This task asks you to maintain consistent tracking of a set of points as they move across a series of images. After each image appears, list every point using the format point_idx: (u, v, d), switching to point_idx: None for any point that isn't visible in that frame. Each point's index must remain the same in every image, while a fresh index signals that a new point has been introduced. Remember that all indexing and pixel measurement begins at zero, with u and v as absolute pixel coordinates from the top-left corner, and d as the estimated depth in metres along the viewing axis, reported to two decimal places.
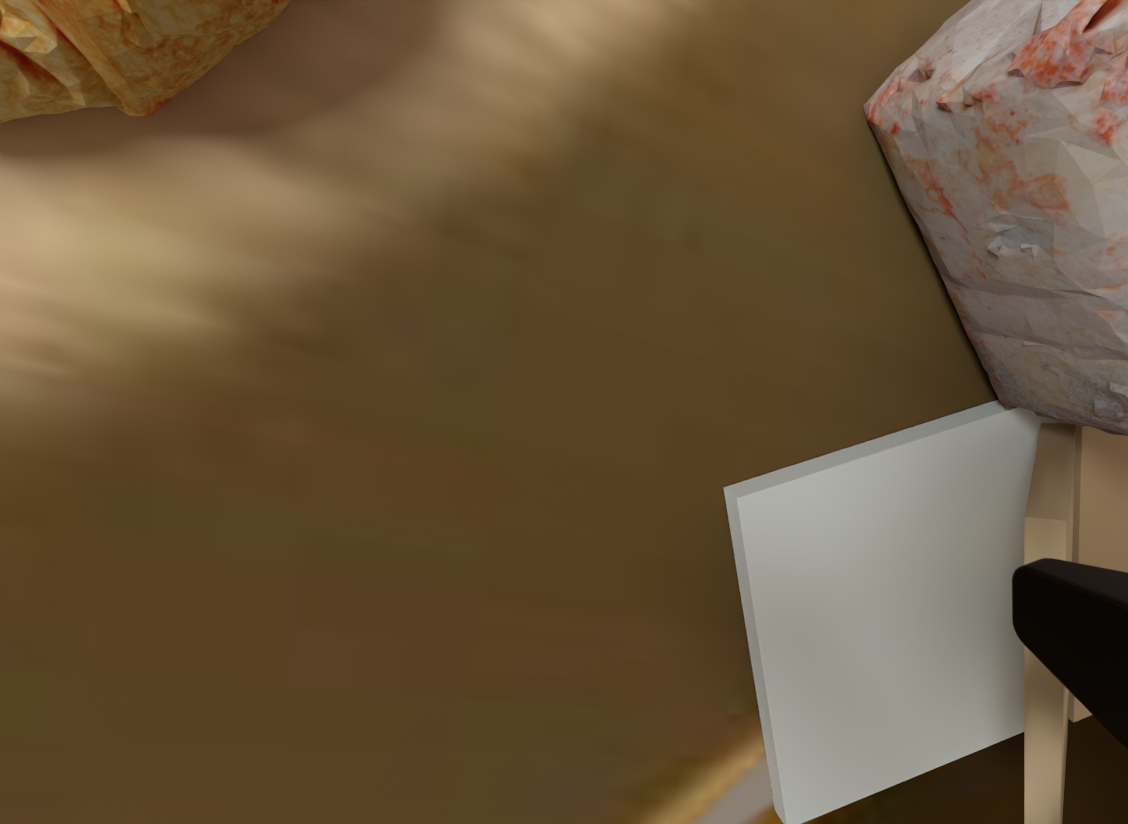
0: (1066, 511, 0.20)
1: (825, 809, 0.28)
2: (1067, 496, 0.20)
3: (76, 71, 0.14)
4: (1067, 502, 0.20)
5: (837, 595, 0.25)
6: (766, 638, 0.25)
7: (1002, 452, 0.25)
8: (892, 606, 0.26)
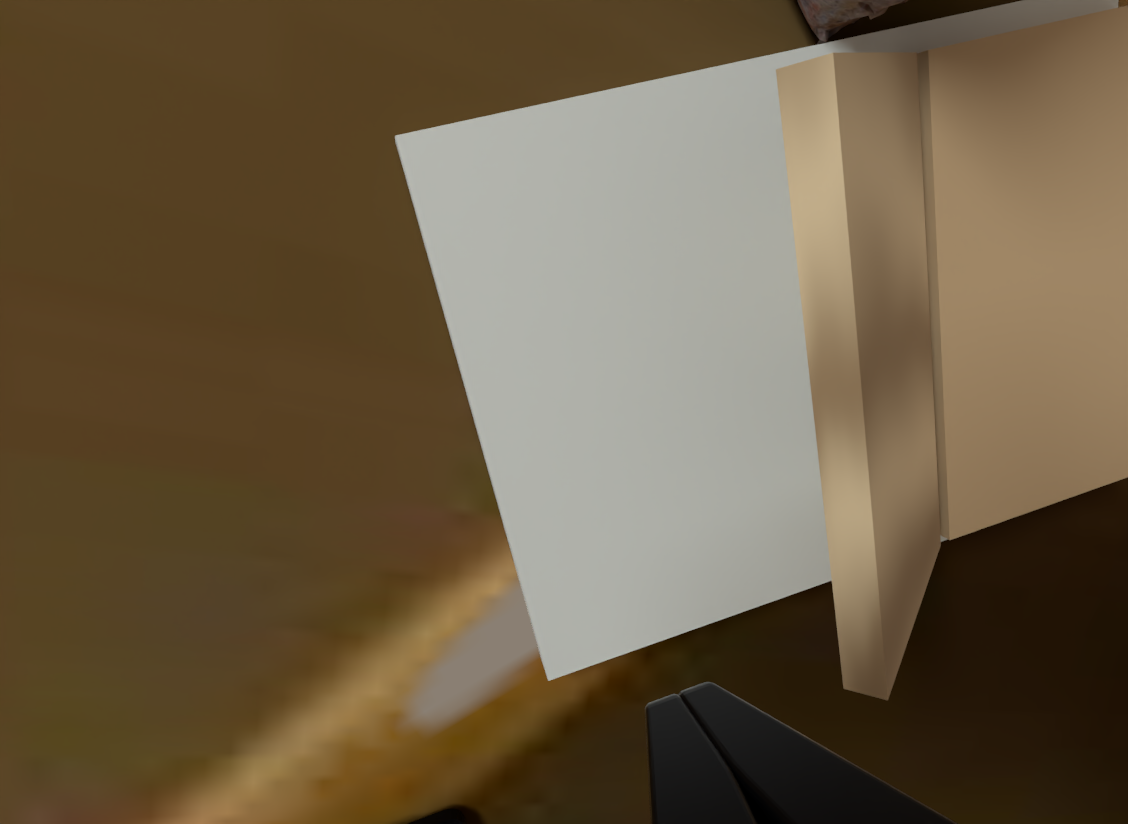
0: None
1: (603, 654, 0.21)
2: (854, 53, 0.13)
3: None
4: (850, 54, 0.12)
5: (582, 320, 0.18)
6: (476, 379, 0.17)
7: None
8: (671, 347, 0.18)
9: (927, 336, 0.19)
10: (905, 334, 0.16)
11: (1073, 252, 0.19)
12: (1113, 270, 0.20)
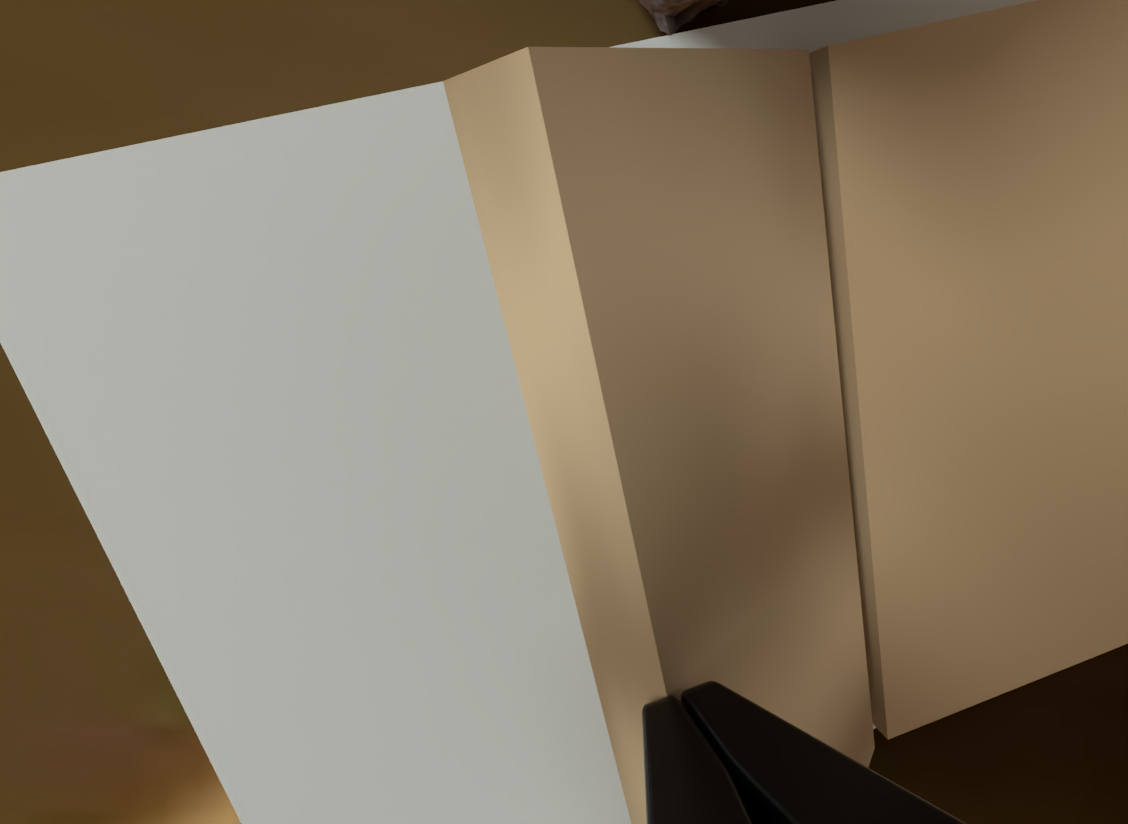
0: (565, 47, 0.06)
1: None
2: (620, 48, 0.06)
3: None
4: (603, 50, 0.06)
5: (301, 463, 0.11)
6: (130, 557, 0.11)
7: None
8: (454, 494, 0.12)
9: (841, 475, 0.12)
10: (788, 501, 0.10)
11: (1061, 344, 0.13)
12: (1119, 366, 0.14)
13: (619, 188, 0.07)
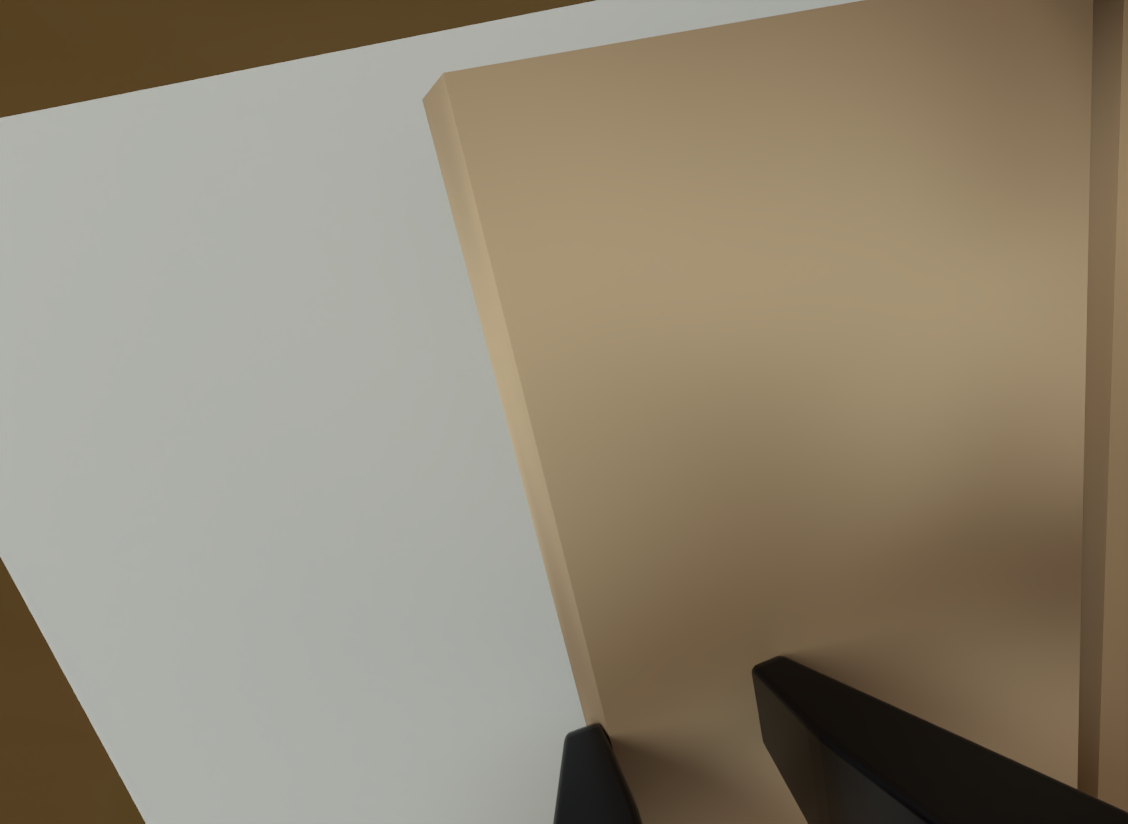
0: (510, 61, 0.05)
1: None
2: (616, 43, 0.06)
3: None
4: (580, 52, 0.05)
5: (338, 552, 0.08)
6: (102, 683, 0.08)
7: None
8: (545, 592, 0.09)
9: (1060, 566, 0.09)
10: (908, 583, 0.08)
11: None
12: None
13: (592, 211, 0.06)
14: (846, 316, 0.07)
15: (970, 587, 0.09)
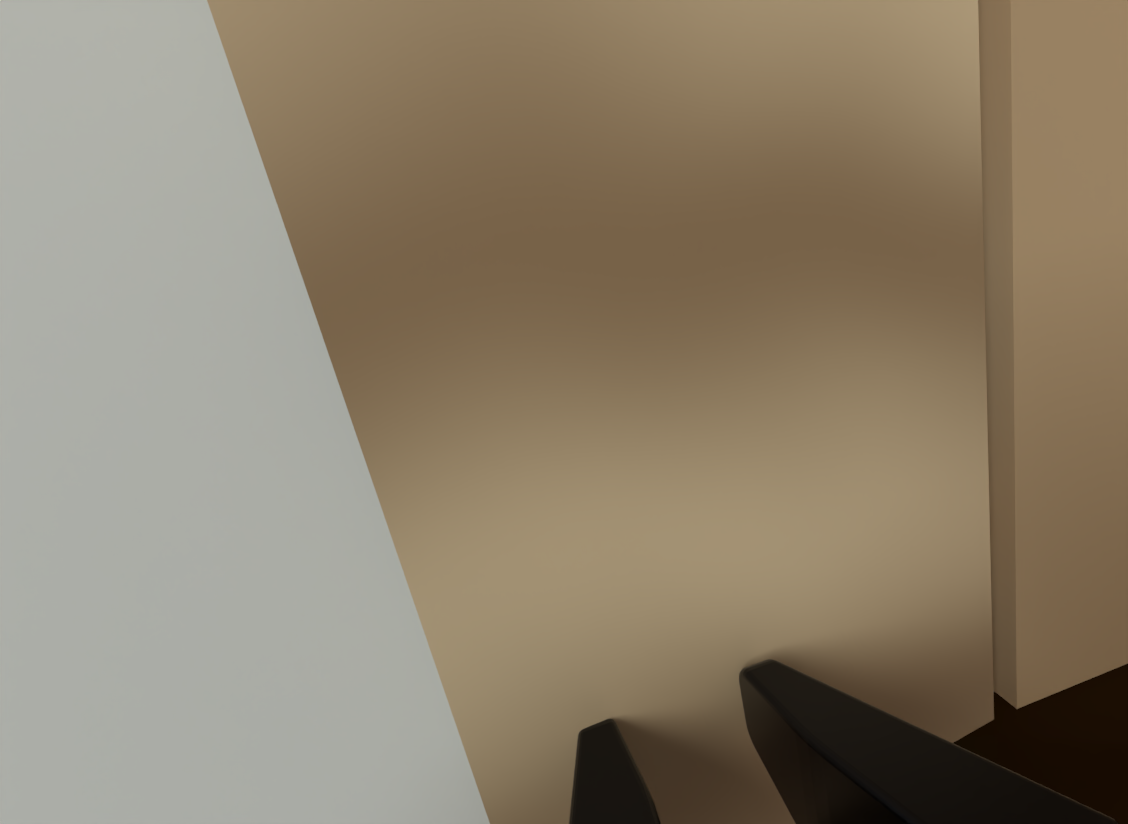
0: None
1: None
2: None
3: None
4: None
5: (10, 182, 0.06)
6: None
7: None
8: None
9: (955, 245, 0.07)
10: (748, 219, 0.06)
11: None
12: None
13: None
14: None
15: (834, 246, 0.07)
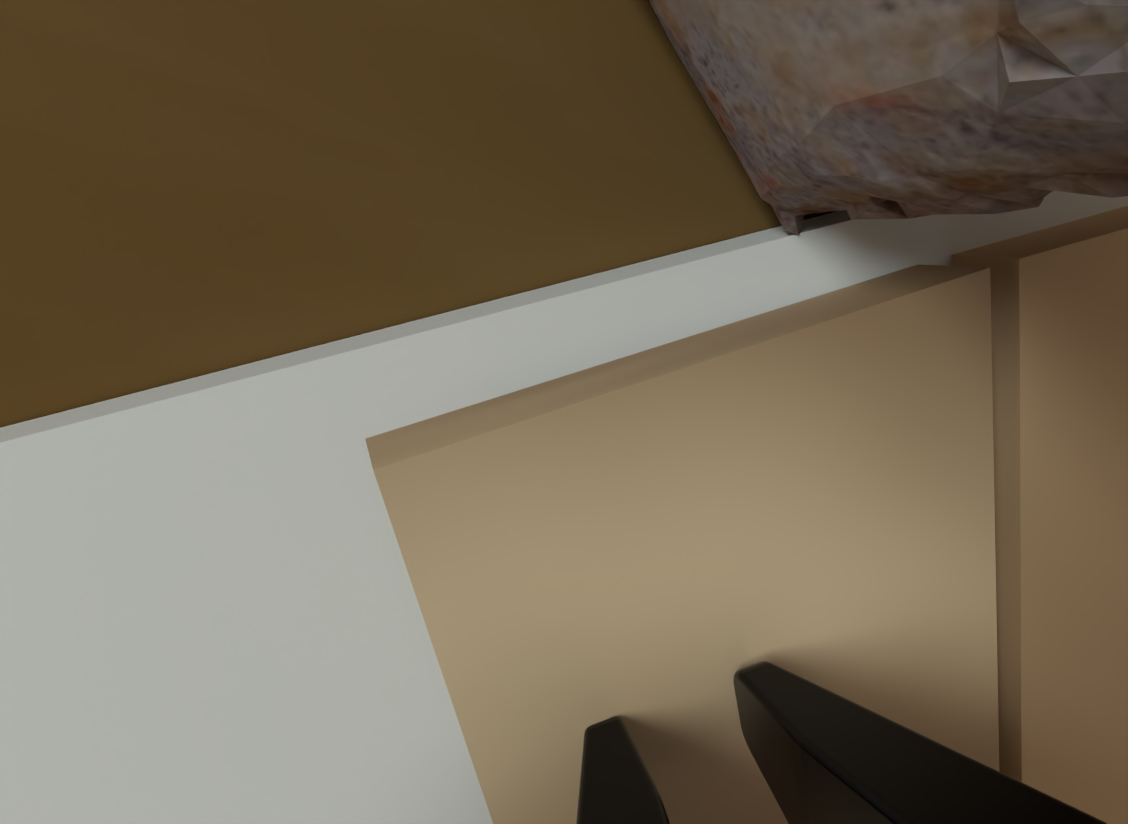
0: (434, 448, 0.06)
1: None
2: (532, 416, 0.06)
3: None
4: (498, 430, 0.06)
5: (295, 797, 0.09)
6: None
7: None
8: None
9: None
10: None
11: None
12: None
13: (513, 552, 0.06)
14: (757, 596, 0.08)
15: None
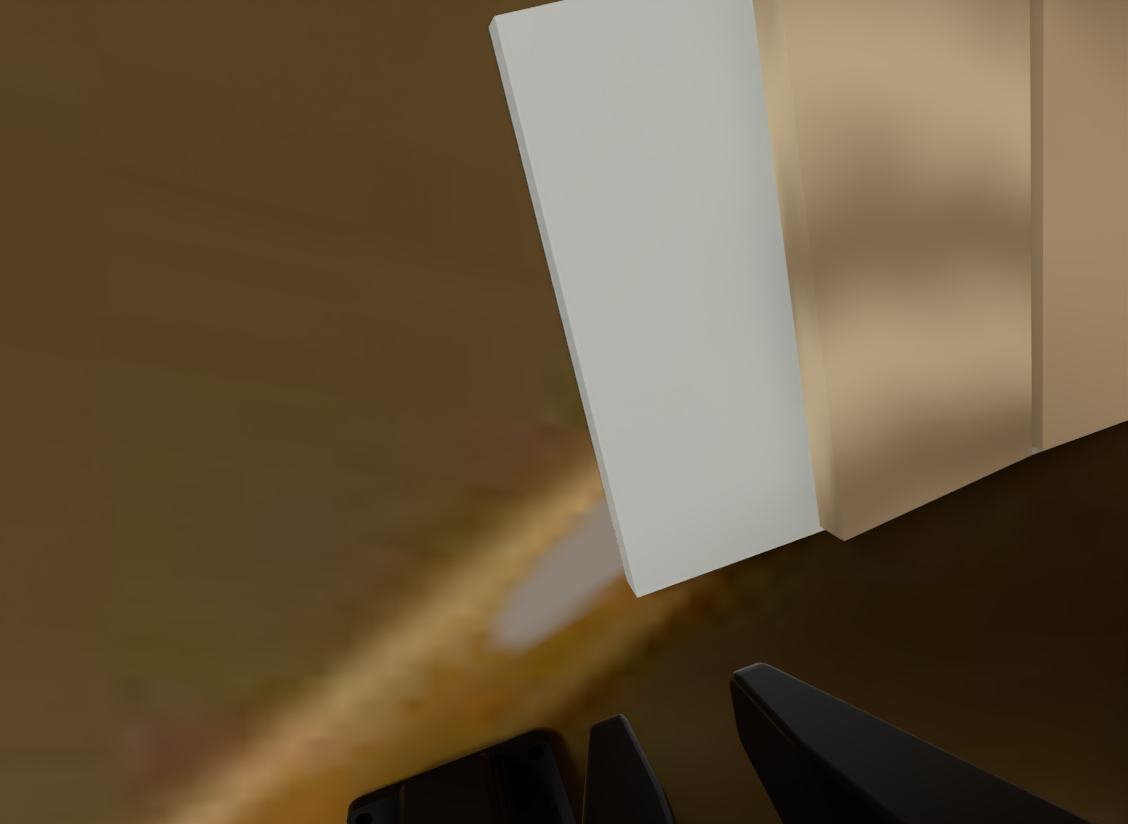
0: None
1: (691, 571, 0.20)
2: None
3: None
4: None
5: (678, 217, 0.17)
6: (572, 279, 0.17)
7: None
8: (768, 247, 0.18)
9: (1019, 232, 0.18)
10: (943, 225, 0.17)
11: None
12: None
13: (823, 30, 0.15)
14: (918, 84, 0.16)
15: (973, 234, 0.18)
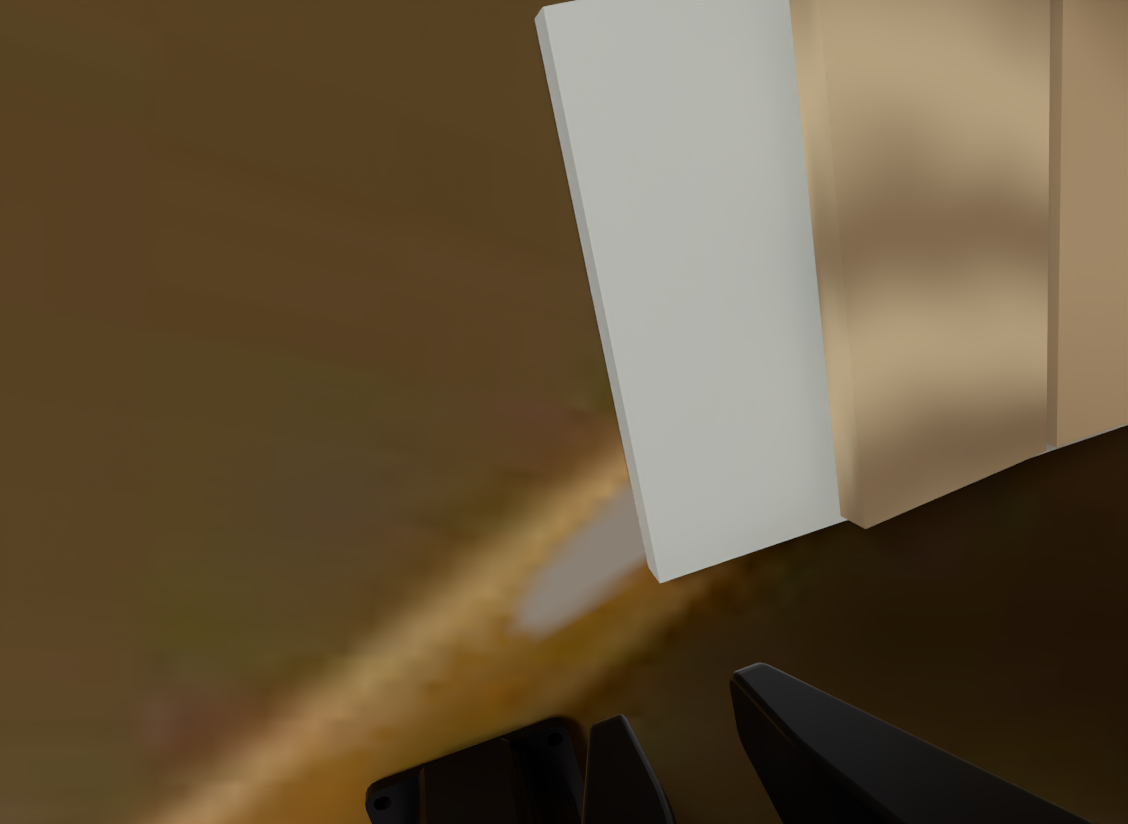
0: None
1: (713, 558, 0.20)
2: None
3: None
4: None
5: (711, 207, 0.18)
6: (607, 264, 0.17)
7: None
8: (795, 239, 0.18)
9: (1037, 231, 0.19)
10: (965, 221, 0.18)
11: None
12: None
13: (856, 28, 0.16)
14: (944, 84, 0.17)
15: (993, 231, 0.18)
